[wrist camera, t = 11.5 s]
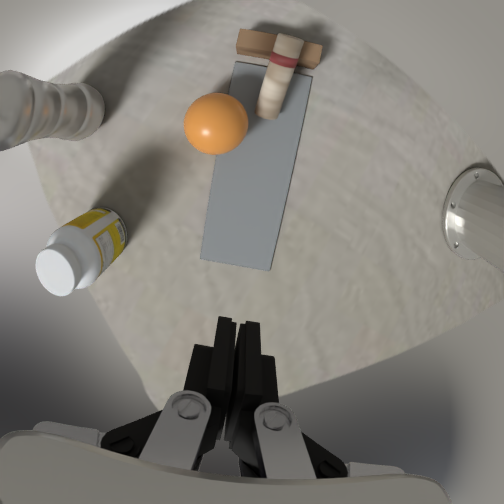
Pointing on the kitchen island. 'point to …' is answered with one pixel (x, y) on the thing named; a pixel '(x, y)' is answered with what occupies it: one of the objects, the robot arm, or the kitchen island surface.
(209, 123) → the ball
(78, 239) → the pill bottle
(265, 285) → the kitchen island surface
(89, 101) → the plastic bottle
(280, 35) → the pin
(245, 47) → the back wall
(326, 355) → the kitchen island surface
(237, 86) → the plate
